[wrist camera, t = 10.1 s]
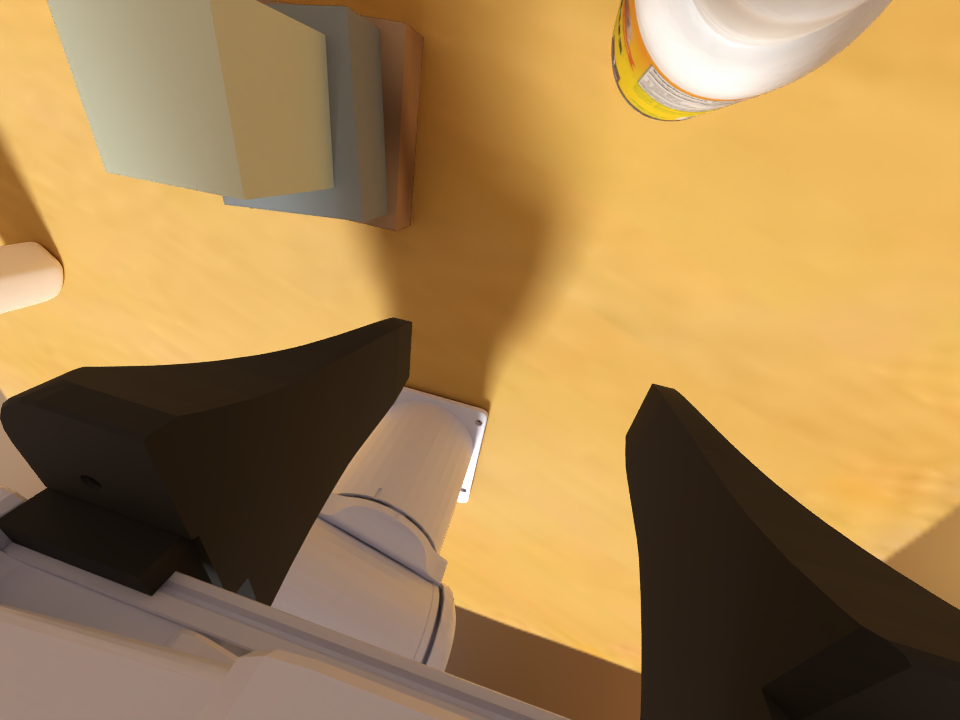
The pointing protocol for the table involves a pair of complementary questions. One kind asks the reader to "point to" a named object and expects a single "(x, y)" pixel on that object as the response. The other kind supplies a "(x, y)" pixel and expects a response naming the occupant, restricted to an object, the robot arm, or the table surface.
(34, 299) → the eye dropper bottle
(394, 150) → the walnut base slab
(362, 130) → the slate gray middle block
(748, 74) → the supplement bottle
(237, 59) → the sage cube
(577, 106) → the table surface
